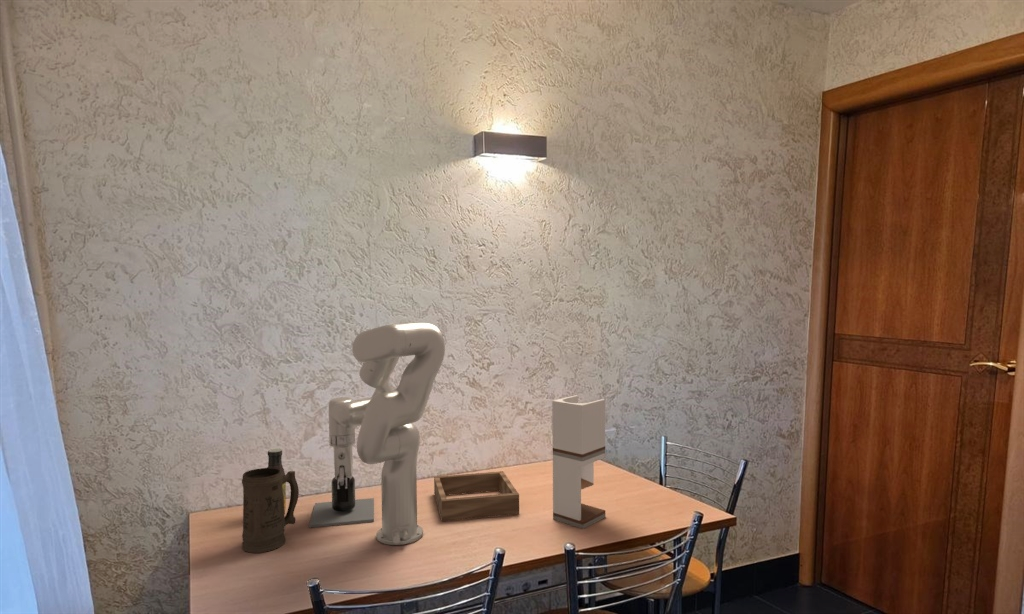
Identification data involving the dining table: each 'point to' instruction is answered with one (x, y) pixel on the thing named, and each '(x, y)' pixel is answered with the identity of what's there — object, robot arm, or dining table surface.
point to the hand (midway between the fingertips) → (343, 496)
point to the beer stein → (266, 508)
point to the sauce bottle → (275, 462)
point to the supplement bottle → (351, 495)
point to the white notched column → (576, 457)
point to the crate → (478, 504)
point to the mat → (342, 514)
